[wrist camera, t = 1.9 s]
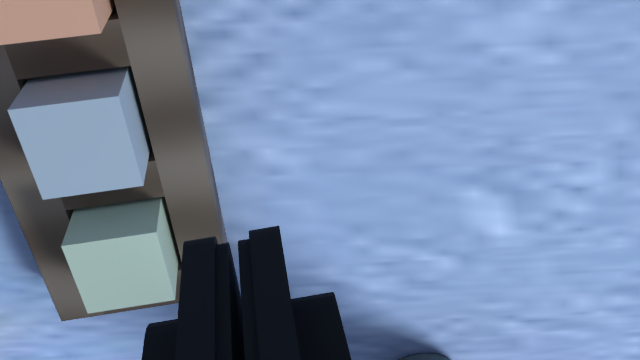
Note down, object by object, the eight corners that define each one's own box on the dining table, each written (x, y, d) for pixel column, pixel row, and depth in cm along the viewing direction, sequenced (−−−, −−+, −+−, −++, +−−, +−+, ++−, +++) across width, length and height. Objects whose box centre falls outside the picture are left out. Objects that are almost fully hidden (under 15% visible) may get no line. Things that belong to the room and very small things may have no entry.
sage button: (77, 199, 35) (61, 246, 31) (162, 187, 36) (156, 232, 32) (100, 263, 38) (87, 313, 34) (178, 251, 38) (175, 300, 34)
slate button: (32, 73, 31) (7, 110, 27) (130, 61, 31) (118, 96, 27) (62, 156, 33) (42, 199, 30) (151, 143, 34) (143, 185, 30)
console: (-113, -167, 26) (-149, -164, 23) (141, -188, 27) (134, -188, 24) (71, 289, 40) (61, 321, 38) (231, 264, 41) (232, 294, 39)
